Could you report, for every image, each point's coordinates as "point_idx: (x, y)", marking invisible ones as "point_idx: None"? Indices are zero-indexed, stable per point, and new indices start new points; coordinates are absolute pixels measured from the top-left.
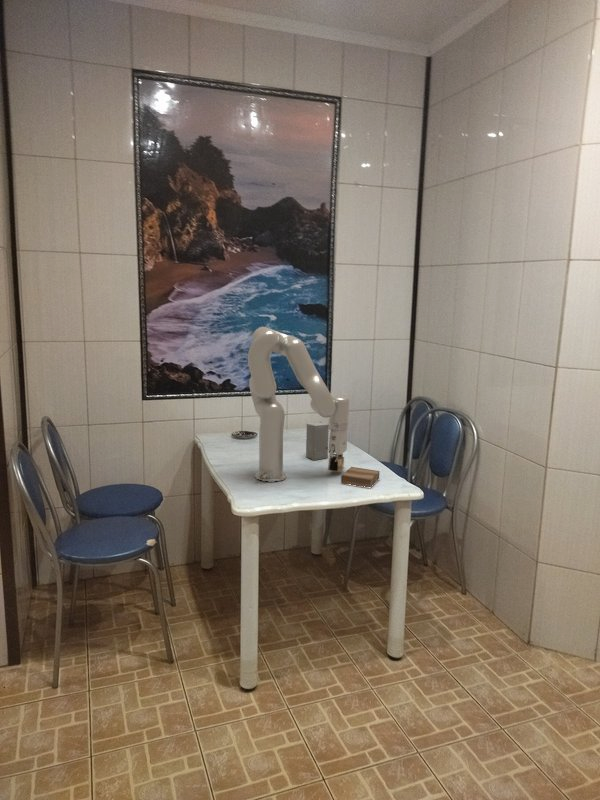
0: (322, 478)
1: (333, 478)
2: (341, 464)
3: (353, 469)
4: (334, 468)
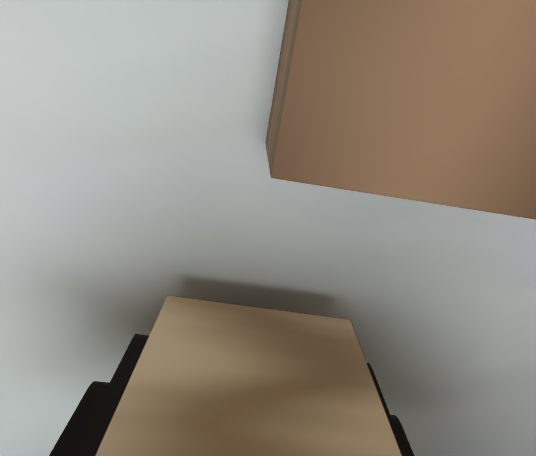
0: (472, 416)
1: (459, 325)
2: (276, 384)
3: (476, 90)
4: (395, 418)
